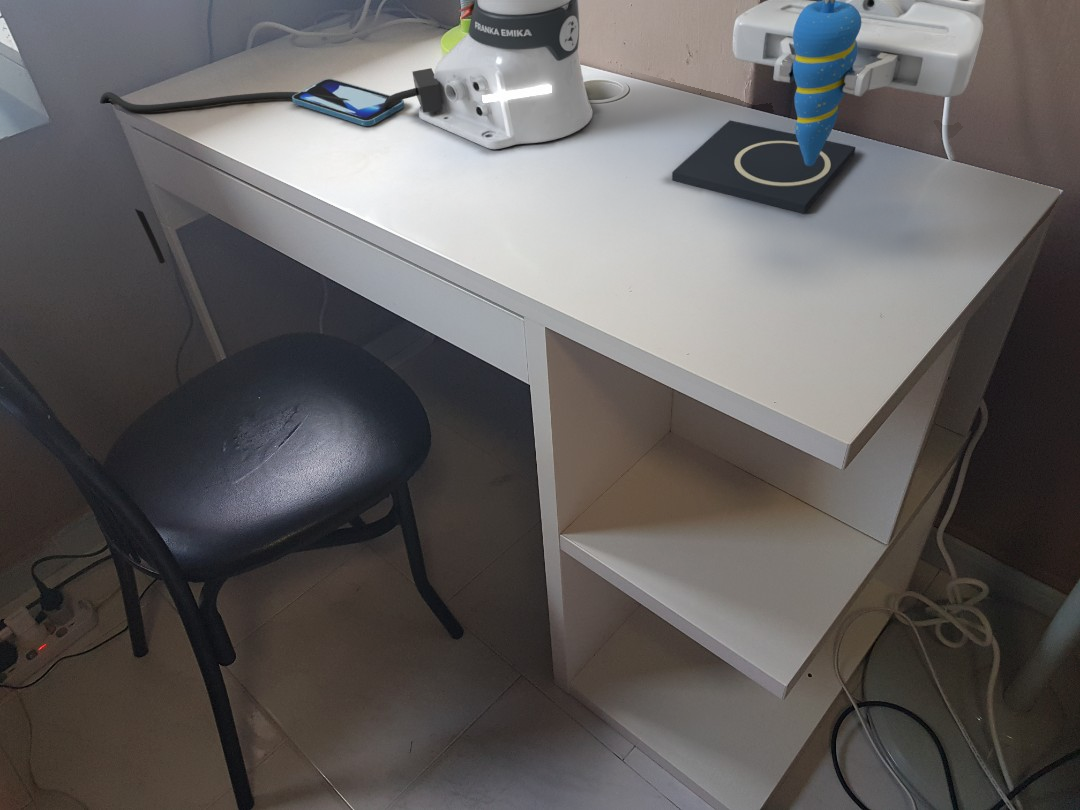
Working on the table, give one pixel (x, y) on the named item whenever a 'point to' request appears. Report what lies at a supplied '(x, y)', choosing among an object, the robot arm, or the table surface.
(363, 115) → the smartphone
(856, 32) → the ornament
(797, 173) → the mat
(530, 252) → the table surface
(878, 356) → the table surface
